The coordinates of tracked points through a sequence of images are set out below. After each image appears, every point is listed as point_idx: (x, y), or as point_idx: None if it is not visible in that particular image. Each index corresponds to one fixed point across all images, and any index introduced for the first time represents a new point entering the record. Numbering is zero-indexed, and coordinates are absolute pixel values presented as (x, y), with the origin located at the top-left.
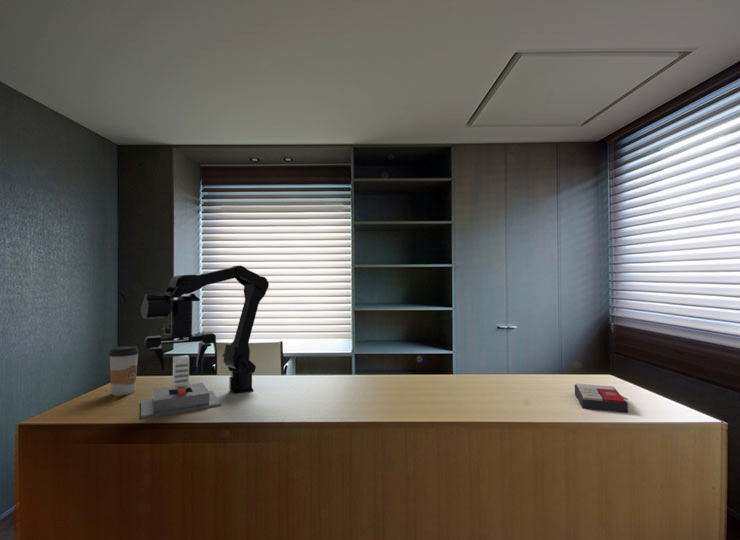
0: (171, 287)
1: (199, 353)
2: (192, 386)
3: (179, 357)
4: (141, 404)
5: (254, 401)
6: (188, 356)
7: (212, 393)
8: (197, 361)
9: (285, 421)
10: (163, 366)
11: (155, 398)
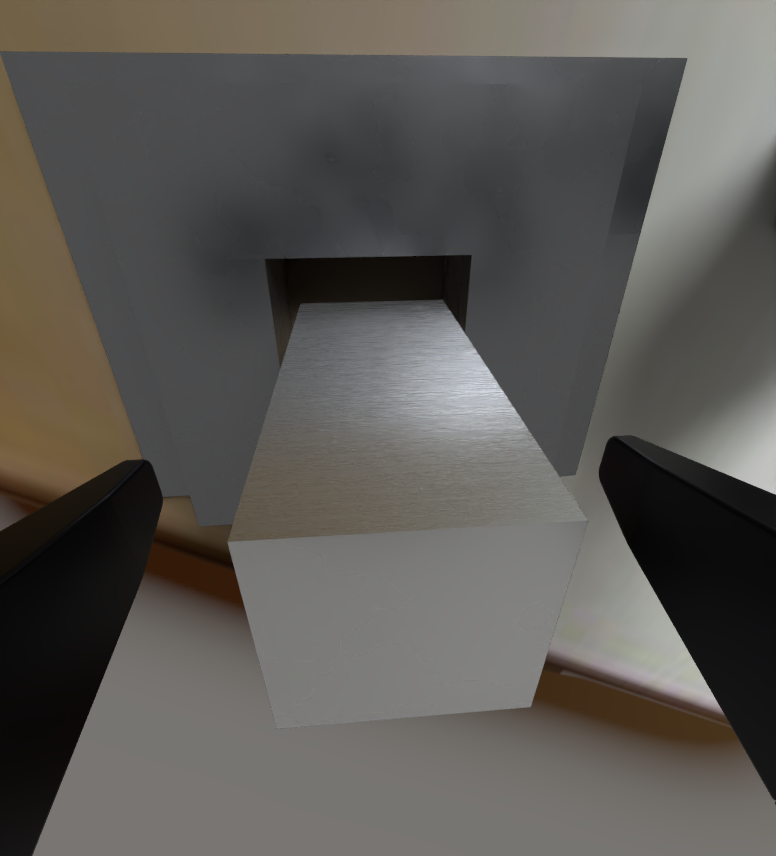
0: None
1: (741, 742)
2: (495, 229)
3: (371, 672)
4: (67, 232)
5: (739, 467)
6: (546, 643)
7: (638, 197)
8: (644, 546)
9: (657, 687)
10: (132, 576)
11: (195, 479)
